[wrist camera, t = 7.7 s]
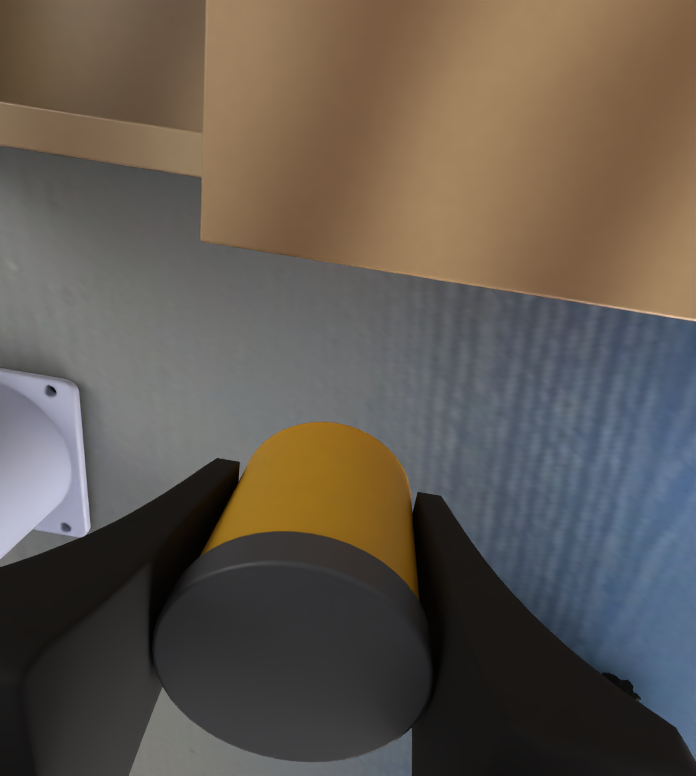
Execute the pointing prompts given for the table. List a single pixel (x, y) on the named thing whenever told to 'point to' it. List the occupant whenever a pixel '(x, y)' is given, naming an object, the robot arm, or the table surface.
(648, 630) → the table surface
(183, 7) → the drawer
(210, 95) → the cabinet
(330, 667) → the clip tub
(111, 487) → the table surface
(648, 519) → the table surface
